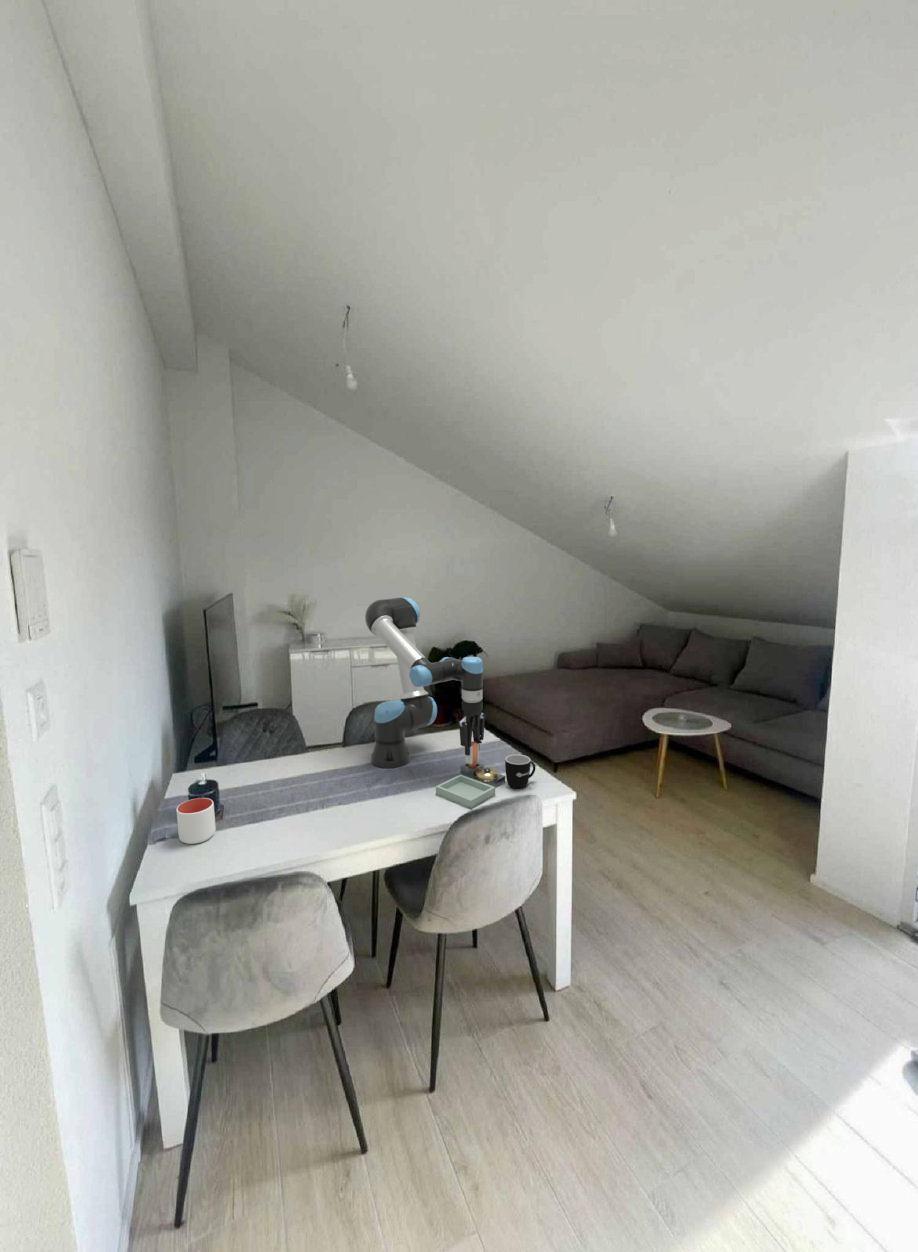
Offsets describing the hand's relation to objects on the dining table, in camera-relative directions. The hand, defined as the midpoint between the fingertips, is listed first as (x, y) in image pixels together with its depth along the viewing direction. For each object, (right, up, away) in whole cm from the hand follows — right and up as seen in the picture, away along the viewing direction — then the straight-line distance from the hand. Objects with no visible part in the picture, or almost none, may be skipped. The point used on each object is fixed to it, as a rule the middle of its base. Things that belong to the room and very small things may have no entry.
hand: (472, 761), depth 205 cm
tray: (-3, -9, -12) cm, 15 cm away
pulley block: (+3, -7, -2) cm, 8 cm away
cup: (-83, -14, -38) cm, 93 cm away
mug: (+17, -8, -5) cm, 20 cm away
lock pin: (0, -4, +1) cm, 4 cm away
